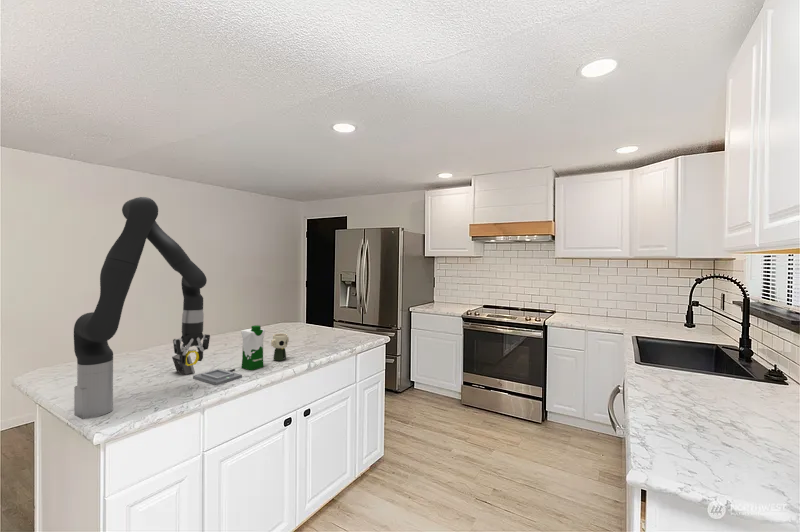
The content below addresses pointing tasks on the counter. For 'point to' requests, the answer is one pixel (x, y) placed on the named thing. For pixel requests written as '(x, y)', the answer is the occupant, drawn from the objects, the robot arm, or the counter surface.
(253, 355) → the milk carton
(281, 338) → the character mug
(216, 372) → the charging dock
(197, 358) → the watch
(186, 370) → the electrical switch
